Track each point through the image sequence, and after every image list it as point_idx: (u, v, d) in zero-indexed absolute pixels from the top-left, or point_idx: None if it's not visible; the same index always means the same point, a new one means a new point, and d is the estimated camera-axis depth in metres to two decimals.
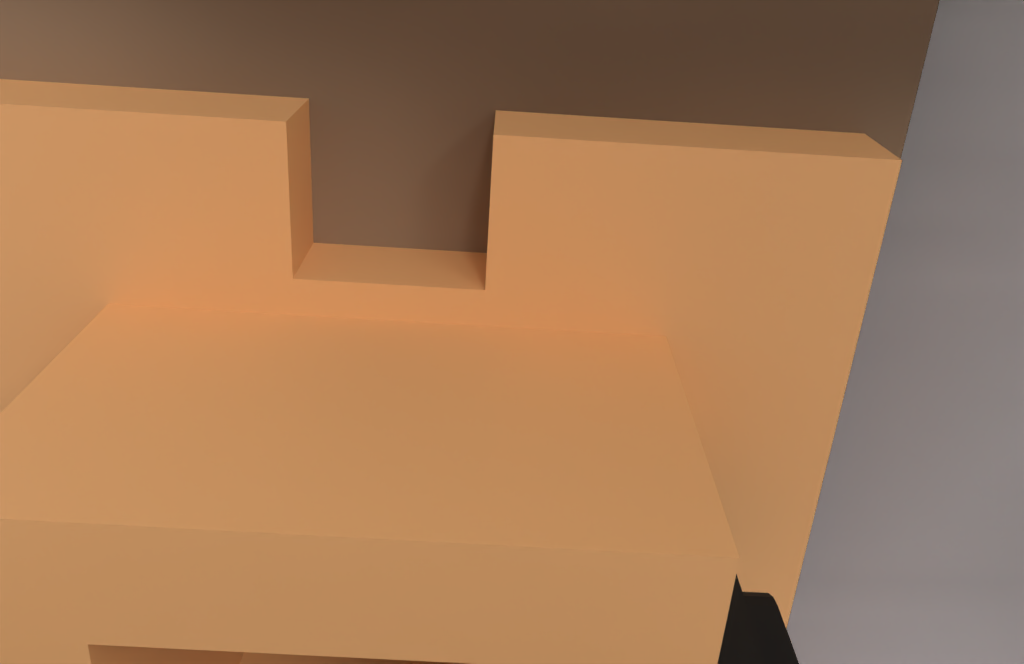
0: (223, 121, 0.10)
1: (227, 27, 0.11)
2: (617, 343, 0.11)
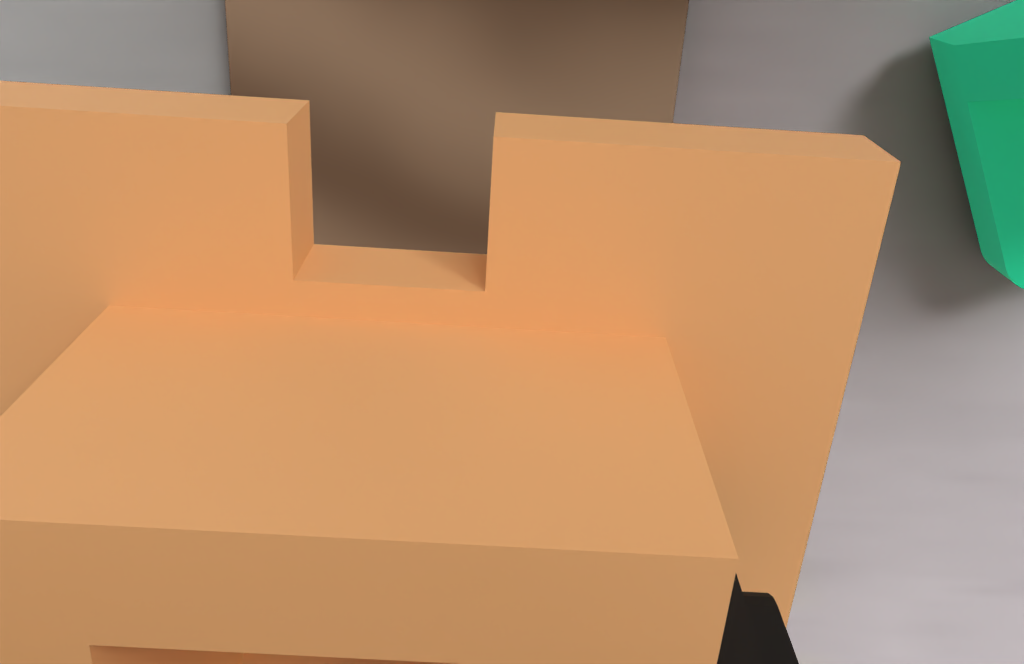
0: (224, 123, 0.10)
1: None
2: (617, 344, 0.11)
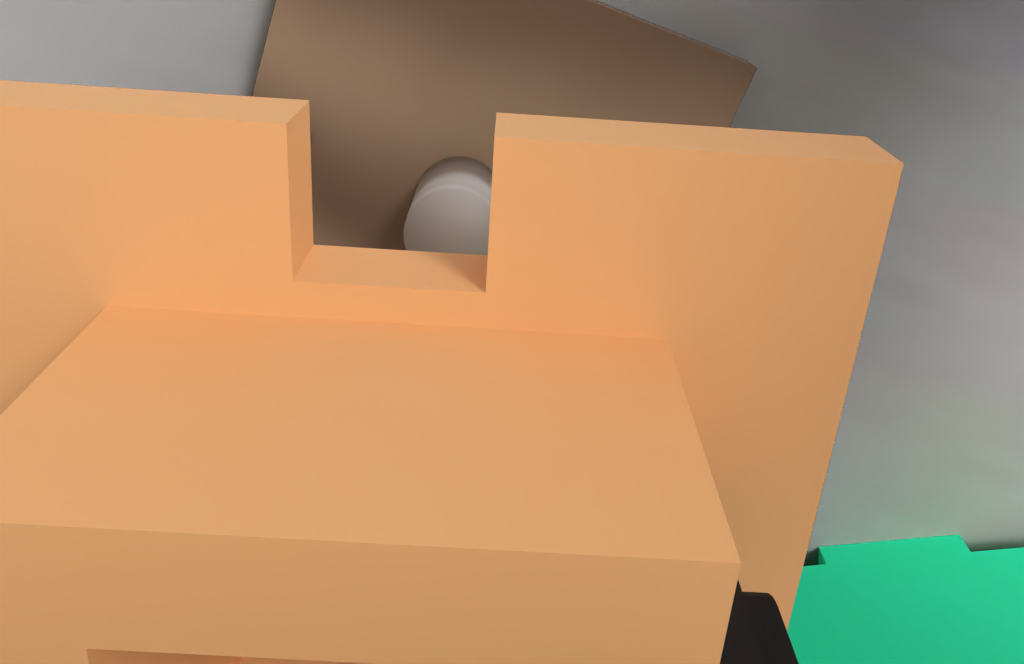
0: (223, 123, 0.10)
1: None
2: (618, 346, 0.11)
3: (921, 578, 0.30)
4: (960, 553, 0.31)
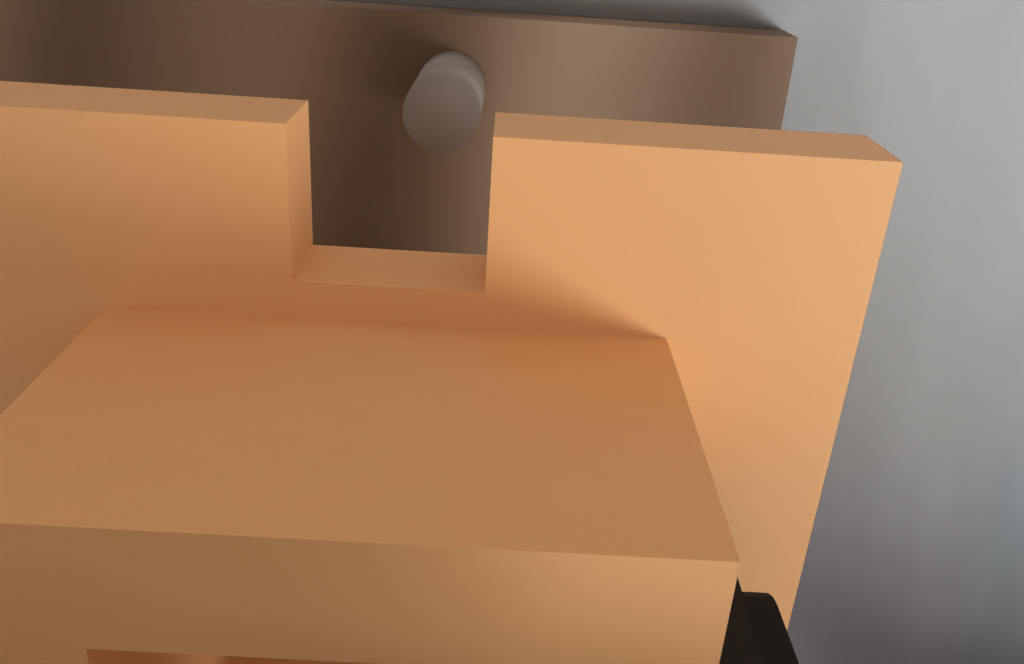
0: (222, 123, 0.10)
1: None
2: (617, 345, 0.11)
3: None
4: None
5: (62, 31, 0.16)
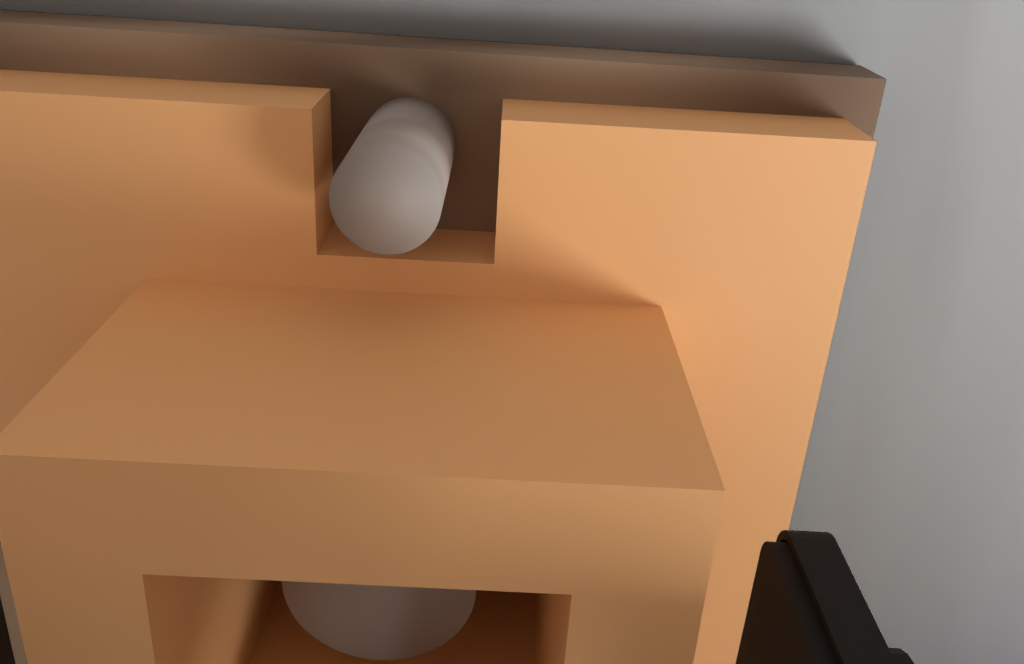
0: (253, 108, 0.11)
1: None
2: (616, 312, 0.12)
3: None
4: None
5: None
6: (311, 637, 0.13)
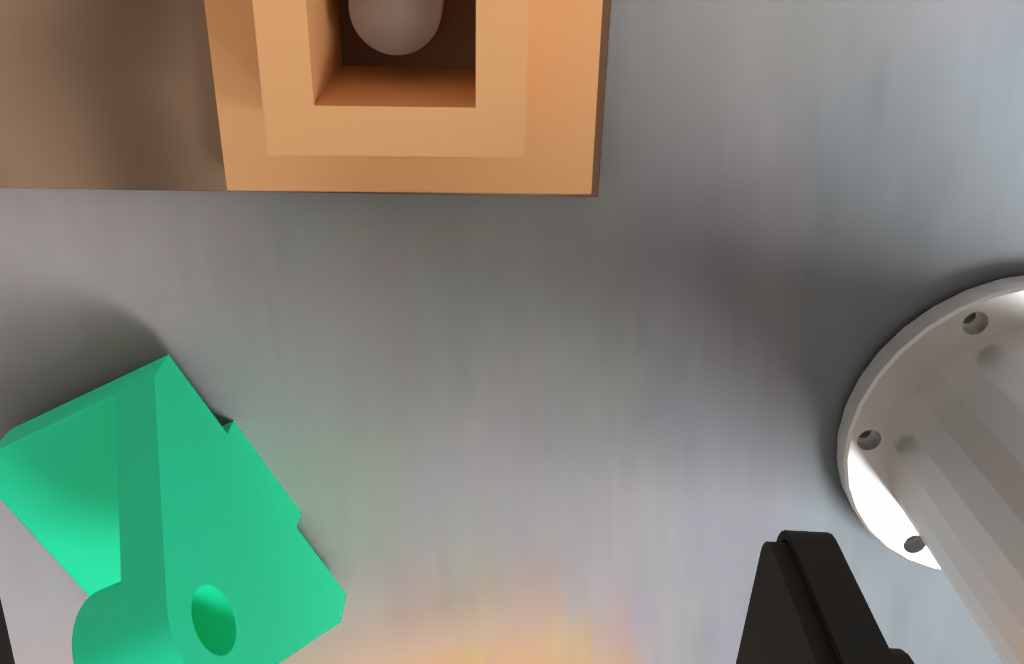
0: None
1: None
2: None
3: (262, 506, 0.34)
4: (292, 521, 0.35)
5: None
6: (360, 78, 0.26)
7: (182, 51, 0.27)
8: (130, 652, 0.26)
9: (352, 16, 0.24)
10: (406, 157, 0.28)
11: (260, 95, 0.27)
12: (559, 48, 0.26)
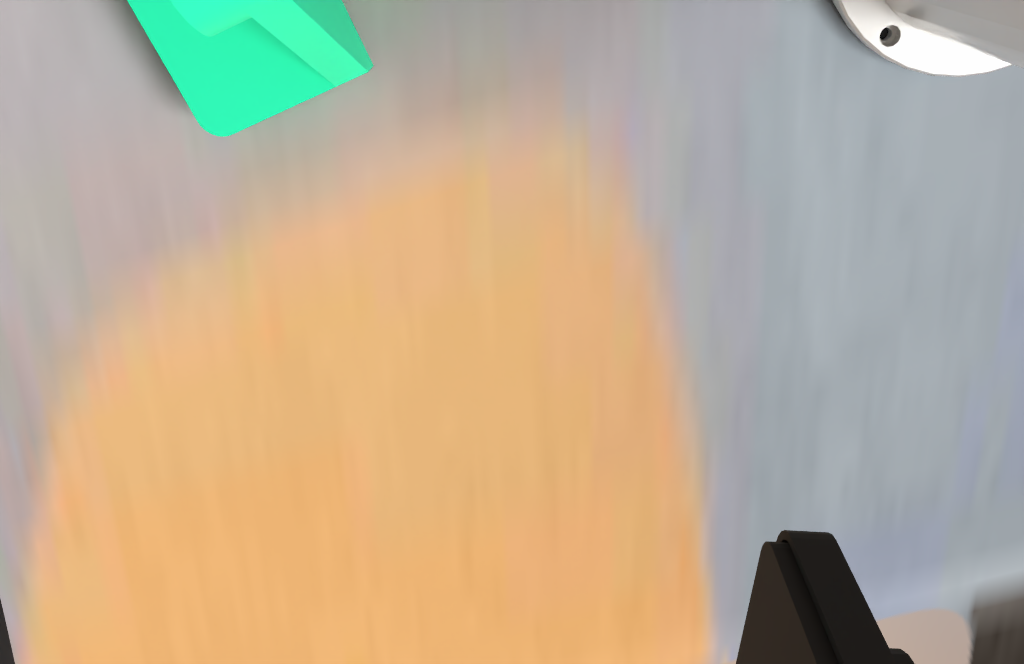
0: None
1: None
2: None
3: None
4: None
5: None
6: None
7: None
8: None
9: None
10: None
11: None
12: None
